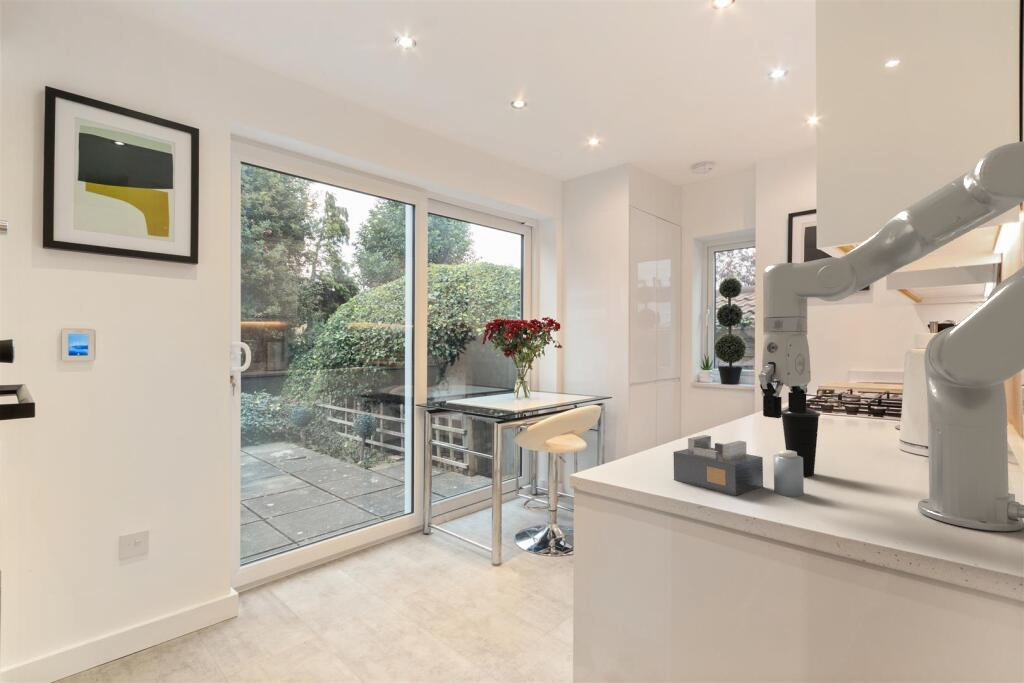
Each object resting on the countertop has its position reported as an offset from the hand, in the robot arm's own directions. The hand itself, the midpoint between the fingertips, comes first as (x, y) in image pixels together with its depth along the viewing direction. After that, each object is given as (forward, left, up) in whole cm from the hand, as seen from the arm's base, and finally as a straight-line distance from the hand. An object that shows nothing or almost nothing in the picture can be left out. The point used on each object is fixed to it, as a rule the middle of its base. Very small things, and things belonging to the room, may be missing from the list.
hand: (785, 414), depth 94 cm
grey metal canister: (0, 0, -15) cm, 15 cm away
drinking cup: (+5, -16, -15) cm, 23 cm away
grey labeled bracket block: (+12, +5, -15) cm, 20 cm away
